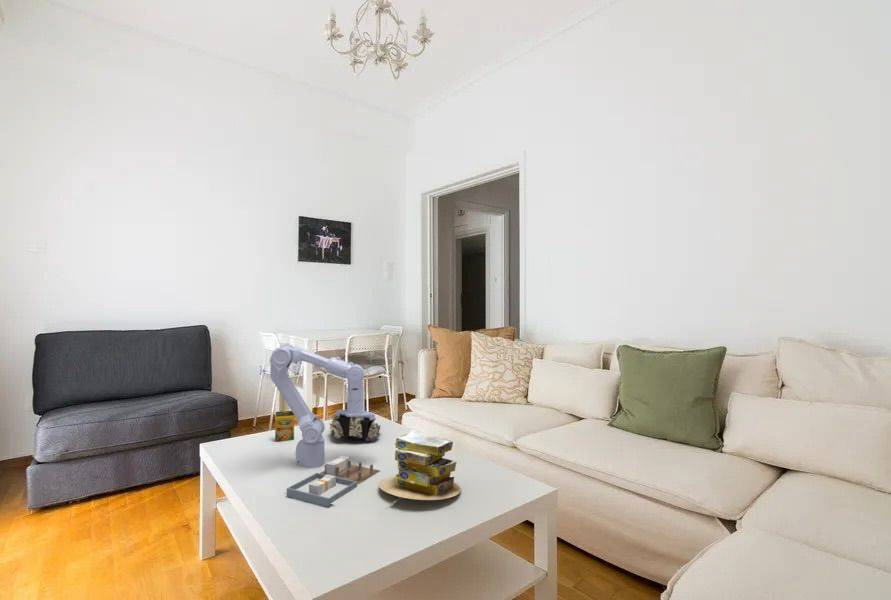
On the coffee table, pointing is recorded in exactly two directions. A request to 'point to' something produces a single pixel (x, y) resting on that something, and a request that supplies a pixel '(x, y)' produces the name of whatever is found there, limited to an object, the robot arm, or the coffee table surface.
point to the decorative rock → (354, 428)
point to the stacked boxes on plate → (422, 469)
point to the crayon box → (284, 426)
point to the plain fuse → (337, 465)
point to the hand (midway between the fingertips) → (355, 437)
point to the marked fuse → (322, 485)
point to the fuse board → (355, 472)
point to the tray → (316, 498)
